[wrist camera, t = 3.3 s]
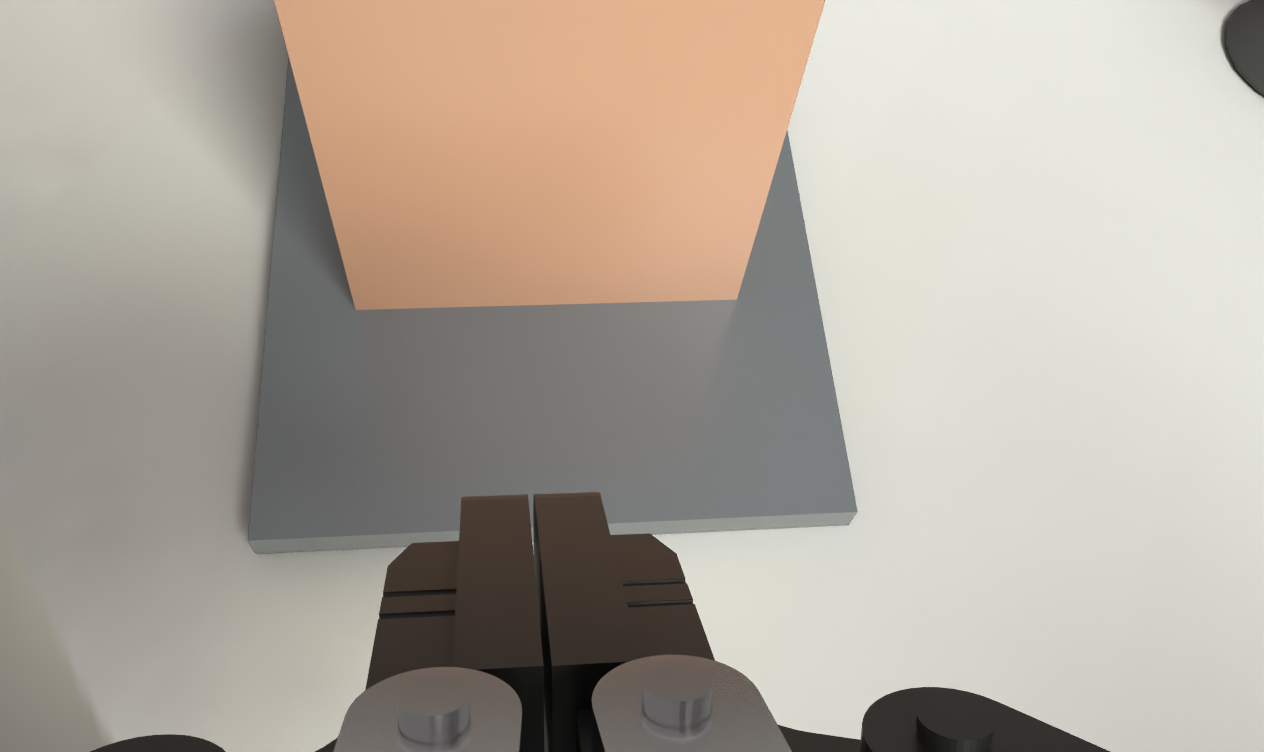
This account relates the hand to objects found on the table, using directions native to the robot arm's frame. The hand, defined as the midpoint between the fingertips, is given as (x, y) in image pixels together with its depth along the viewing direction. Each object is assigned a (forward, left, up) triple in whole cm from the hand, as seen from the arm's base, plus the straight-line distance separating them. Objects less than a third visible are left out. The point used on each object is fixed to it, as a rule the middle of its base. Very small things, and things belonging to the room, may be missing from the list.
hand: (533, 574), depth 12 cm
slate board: (-11, -12, -12) cm, 20 cm away
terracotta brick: (-8, -8, -11) cm, 16 cm away
